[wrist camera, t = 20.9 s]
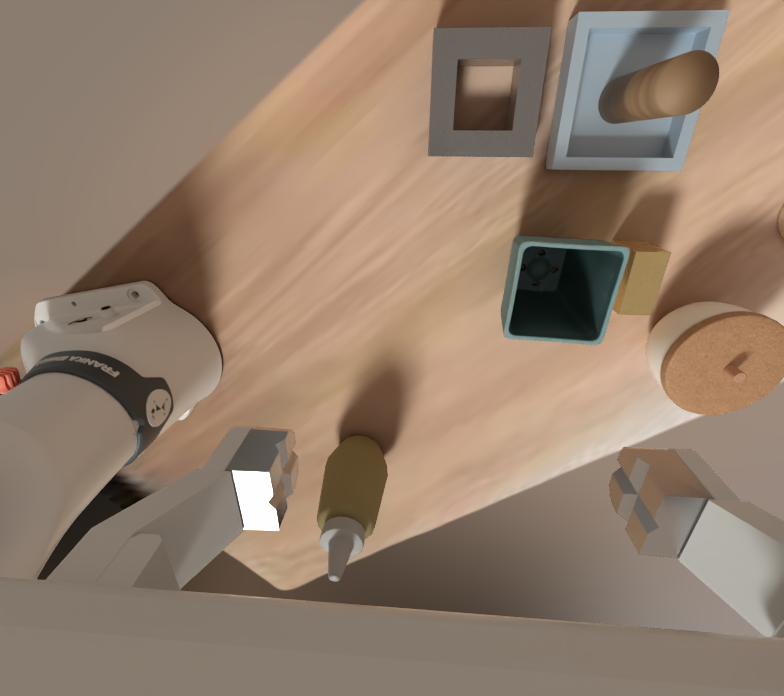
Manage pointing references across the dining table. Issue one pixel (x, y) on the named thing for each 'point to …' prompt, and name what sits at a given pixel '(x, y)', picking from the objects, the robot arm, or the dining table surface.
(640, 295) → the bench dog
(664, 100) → the dowel
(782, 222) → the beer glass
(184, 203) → the dining table surface
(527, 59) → the socket block
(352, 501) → the squeeze bottle
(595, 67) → the tray
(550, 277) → the flower pot
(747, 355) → the lidded jar
